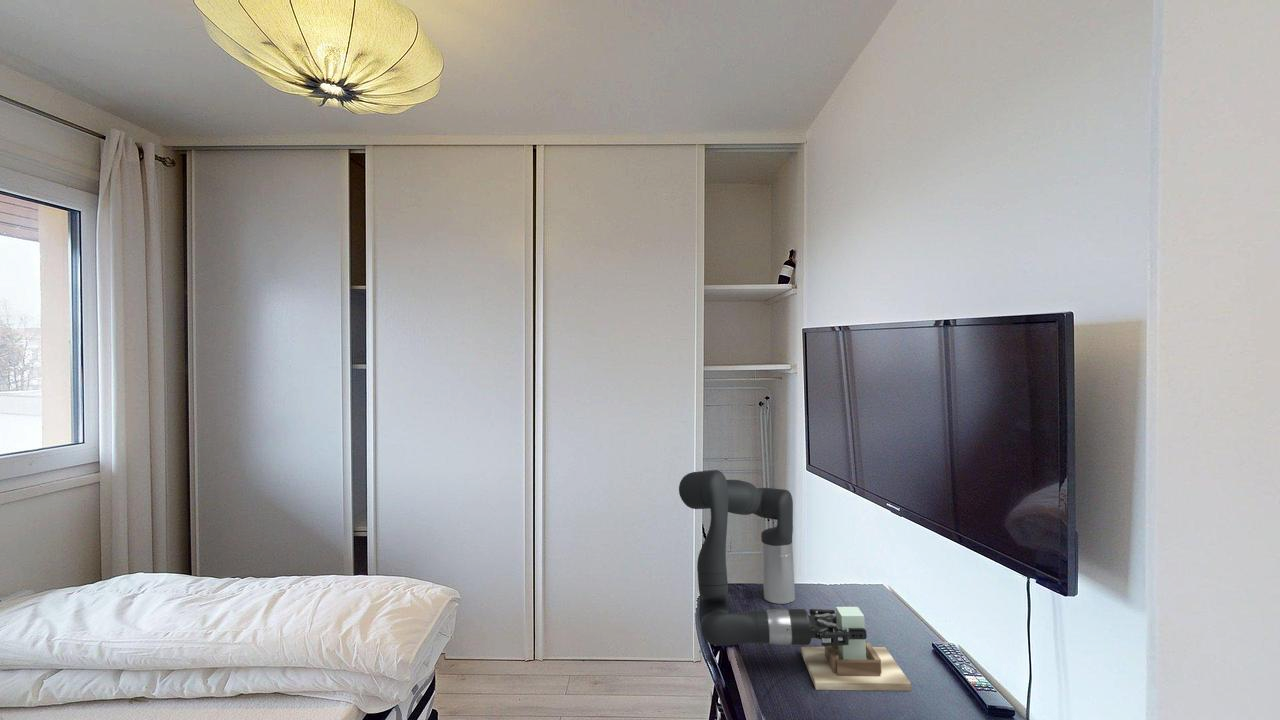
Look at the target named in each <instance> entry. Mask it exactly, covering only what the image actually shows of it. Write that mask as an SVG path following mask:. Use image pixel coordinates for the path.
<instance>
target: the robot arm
mask: <svg viewBox="0 0 1280 720" xmlns="http://www.w3.org/2000/svg"><path fill="white" fill-rule="evenodd" d="M678 494H679V497H680V499H681V501H682V502H683V503H684V505H686V507H687V508H690V509H693V510H706V509H710V524H709V528H708V532H707V534H706V537H705V539H704V542H703V543H702V546H701V548H700V551H699V552H698V557H697V561H696V562H697V563H696V565H697V566H696V568H697V569H696V570H697V584H698V593H699V596H700V599H699V600H700V603H699V604H700V631H701V634H702V637H703V639H704V640H705V641H706V642H707V643H709V644H710V645H712V646H720V647H724V646H725V647H727V646H736V645H744V644H771V645H772V644H773V645H781V646H782V645H783V646H785V645H786V646H787V645H788V646H789V645H791V646H795V645H796V646H797V645H800V646H805V645H806V646H807V645H808V646H809V645H810V644H811V641H812V639H816V640H821V647H825V646H840V645H849V640H850V639H865V640H867V637H868V636H867V630H866V628H865V629H864V628H844V627H839V626H838V624H837V620H836V610H835V609H821V608H810V609H809V611H807V609H805V608H774V609H767V610H766V609H762V610H761V609H760V610H759V609H758V610H757V609H755V610H754V609H751V610H745V611H744V612H729V611H730V609H729V601H728V594H729V587H728V586H729V585H728V574H727V573H728V572H727V557H726V551H727V535H728V533H727V532H728V517H729V515H728V513H731V514H734V515H741V516H742V515H743V516H748V515H752V514H753V515H755V516H758V517H760V518H763V519H767V520H776V521H777V523H776V526H774V527H770V528H767V529H766V528H765V529H764V530H763V531H761V536H760V537H761V555H762V556H761V559H762V560H761V561H762V582H763V583H762V584H763V599H764V600H765V601H767V602H769V603H771V604H780V605H782V604H783V605H784V604H790V602H791V603H792V602H794V601H795V600H796V598H795V597H796V594H795V593H796V592H795V591H796V590H795V571H794V569H795V568H794V567H795V566H794V548H793V546H794V545H793V532H794V523H793V522H794V520H793V519H794V516H793V515H794V514H793V513H794V501H793V500H794V499H793V496H792V493H791V492H790V490H788V489H782V488H774V487H773V488H772V487H758V488H757V486H755V484H752V483H751V482H748V481H745V480H744V481H743V480H740V479H727V478H726V476H725V474H724V473H723V472H721V471H720V470H717V469H711V470H702V471H699V470H698V471H693V472H689V473H687V474H686V475H684V476H683V477H682V479H681V480H680V482H679V485H678ZM808 612H809V613H808ZM839 631H842V632H839ZM838 640H843V641H838Z"/></svg>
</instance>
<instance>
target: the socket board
mask: <svg viewBox="0 0 1280 720" xmlns="http://www.w3.org/2000/svg"><path fill="white" fill-rule="evenodd" d="M800 650H801V651H800V653H801V656H802V658H803V661H804V663H805V666H806V669H807V671H808V673H809V676H810V678H811V681H812V683H813V686H814V688H815V691H816V690H817V691H821V690H822V691H889V692H890V691H893V692H895V691H900V692H905V691H906V692H909V691H910V692H912V683H911V681H910V680H909V679H908V677H907V676H906V674H905V673H904V671H903V670H902V669H901V668H900V666H899V664H898V663H897V662H896V660H895V659H894V658H893V656H892V655H891V653H890V651H888V649H887V648H886V647H885V646H883V647H882V646H878V647H877V646H872V644H871V643H870V642H867V641H866V660H839V659H838V646H800Z"/></svg>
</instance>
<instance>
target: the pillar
mask: <svg viewBox="0 0 1280 720" xmlns="http://www.w3.org/2000/svg"><path fill="white" fill-rule="evenodd" d="M835 613H836V620H837V624H838V626H839V627H844V628H864V629H865V630H866V623H865V618H866V617H865V614H864V613H863V612H862V611H861V610H860V607H858V606H835ZM839 632H842V631H839ZM866 640H867V639H850V640H849V645H840V646H838V659H839V660H866V642H867V641H866ZM838 641H843V640H838Z"/></svg>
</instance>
